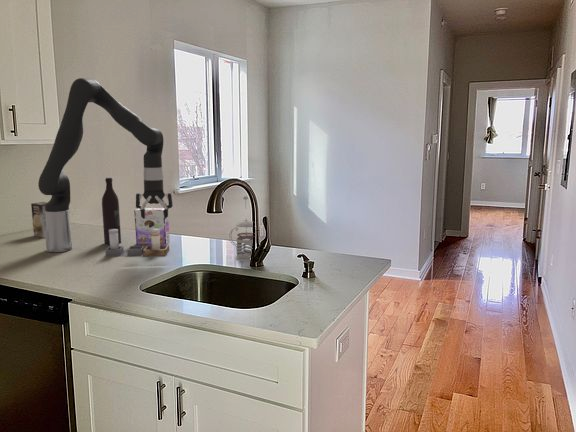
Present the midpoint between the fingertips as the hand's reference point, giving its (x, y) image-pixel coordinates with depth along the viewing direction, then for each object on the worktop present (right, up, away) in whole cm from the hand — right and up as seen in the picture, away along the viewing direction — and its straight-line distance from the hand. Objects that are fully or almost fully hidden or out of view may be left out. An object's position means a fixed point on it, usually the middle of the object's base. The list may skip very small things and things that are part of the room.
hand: (154, 218), depth 202 cm
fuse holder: (-12, -15, +1) cm, 20 cm away
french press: (+37, -16, -3) cm, 40 cm away
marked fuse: (0, -14, +2) cm, 15 cm away
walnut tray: (0, -15, +2) cm, 15 cm away
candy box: (-6, -12, +21) cm, 25 cm away
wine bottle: (-24, -12, +21) cm, 34 cm away
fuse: (-16, -15, +1) cm, 22 cm away
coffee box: (-65, -9, +40) cm, 77 cm away
